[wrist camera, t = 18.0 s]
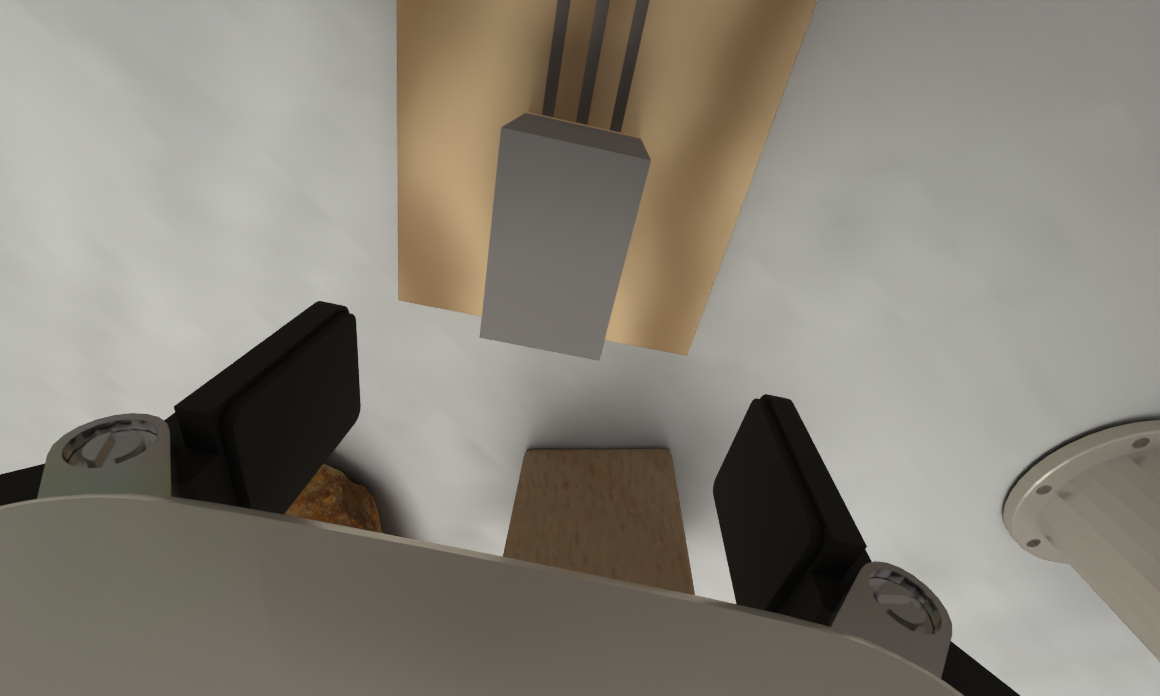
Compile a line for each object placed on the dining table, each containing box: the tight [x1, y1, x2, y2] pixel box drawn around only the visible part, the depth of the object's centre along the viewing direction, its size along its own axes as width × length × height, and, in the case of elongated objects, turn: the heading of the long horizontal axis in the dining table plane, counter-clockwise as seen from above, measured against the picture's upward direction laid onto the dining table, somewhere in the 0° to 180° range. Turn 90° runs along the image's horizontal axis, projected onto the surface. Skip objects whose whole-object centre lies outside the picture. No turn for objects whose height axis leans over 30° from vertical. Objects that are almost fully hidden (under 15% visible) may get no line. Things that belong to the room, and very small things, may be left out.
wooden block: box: [503, 449, 695, 595], centre depth 26 cm, size 10×10×20 cm
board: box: [397, 0, 817, 356], centre depth 21 cm, size 16×22×2 cm
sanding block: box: [480, 112, 651, 360], centre depth 20 cm, size 5×8×6 cm, turn 169°
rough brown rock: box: [284, 464, 382, 533], centre depth 33 cm, size 23×17×15 cm
